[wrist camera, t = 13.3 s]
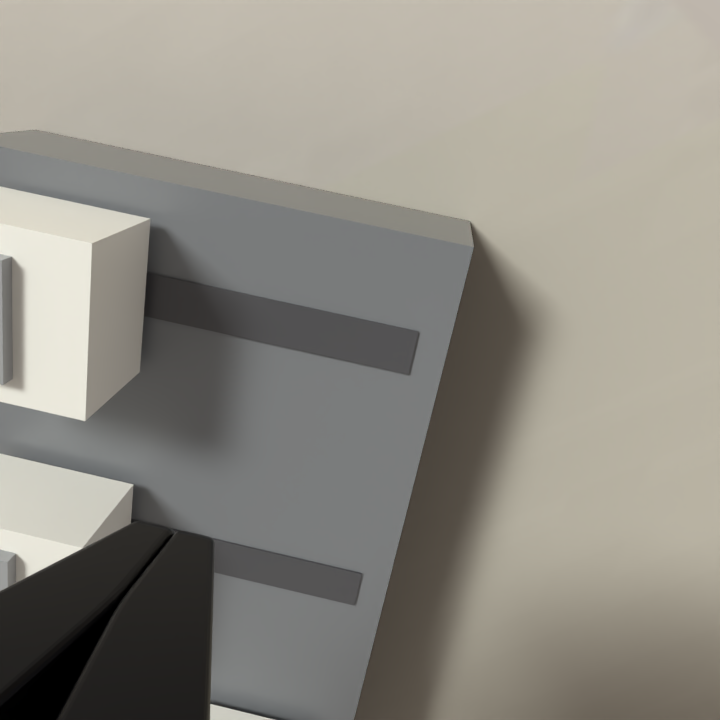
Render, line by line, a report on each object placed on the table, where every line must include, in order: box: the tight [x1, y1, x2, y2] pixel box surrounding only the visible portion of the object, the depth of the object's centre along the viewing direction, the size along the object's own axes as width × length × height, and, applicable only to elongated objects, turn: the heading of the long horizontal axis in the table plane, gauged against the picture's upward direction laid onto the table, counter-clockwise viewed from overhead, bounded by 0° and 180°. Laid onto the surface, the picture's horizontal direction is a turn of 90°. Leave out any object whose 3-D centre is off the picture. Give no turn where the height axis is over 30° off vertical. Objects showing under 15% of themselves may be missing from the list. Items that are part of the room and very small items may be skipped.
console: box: [0, 130, 474, 720], centre depth 19 cm, size 18×11×3 cm, turn 169°
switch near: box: [0, 186, 150, 421], centre depth 14 cm, size 4×4×3 cm
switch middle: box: [0, 454, 134, 591], centre depth 16 cm, size 4×4×3 cm
